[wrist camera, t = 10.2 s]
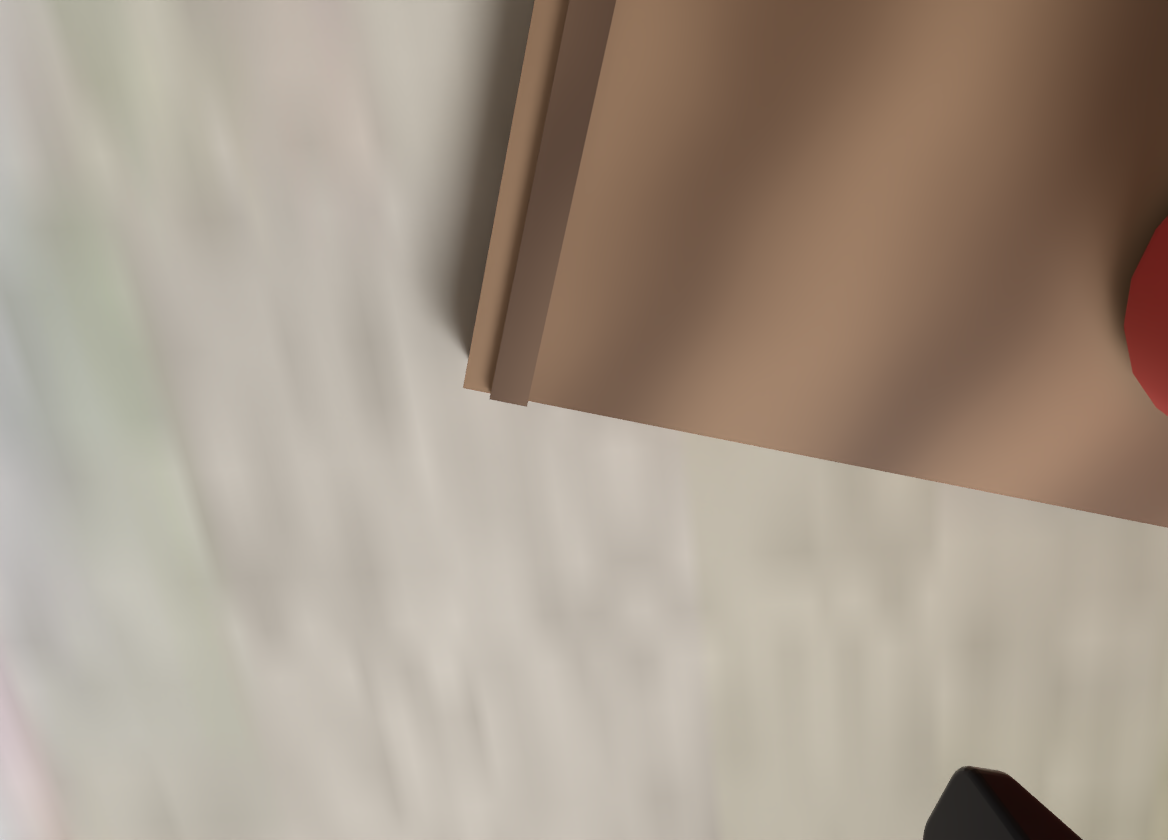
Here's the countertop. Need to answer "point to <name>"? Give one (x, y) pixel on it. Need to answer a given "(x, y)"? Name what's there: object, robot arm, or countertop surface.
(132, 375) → the countertop surface
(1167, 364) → the beer can
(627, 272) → the walnut board
